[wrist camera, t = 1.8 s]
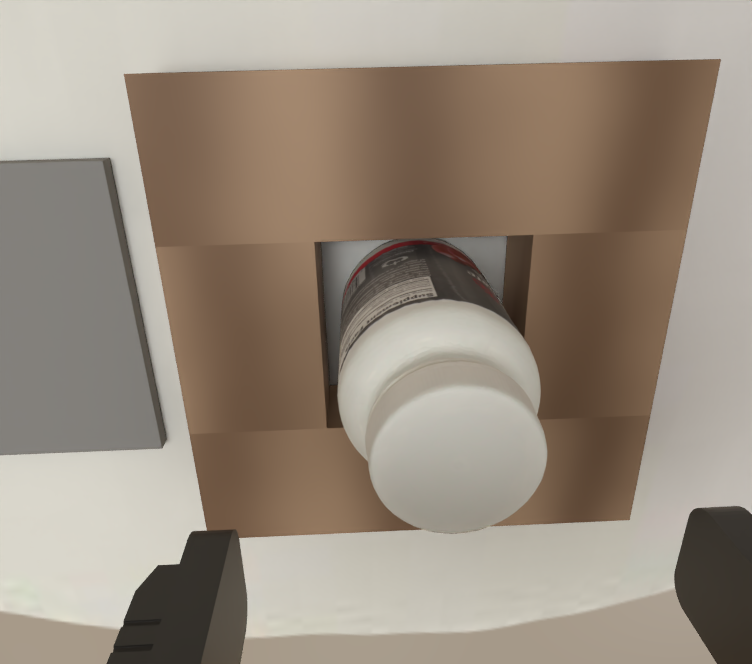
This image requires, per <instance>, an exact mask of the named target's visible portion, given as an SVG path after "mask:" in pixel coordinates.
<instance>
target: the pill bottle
mask: <svg viewBox="0 0 752 664" xmlns="http://www.w3.org/2000/svg"><path fill="white" fill-rule="evenodd" d="M337 393H338V394H337V397H338V405H339V412H340V417H341V421H342V424H343V427H344V429H345V431H346V433H347V435H348V437H349V439H350V441H351V442H352V444H353V445H354V447H355V448H356V450H357V451H358V452H359V453H360V454H361V455H362V456H363V457H364V458H365V459H366V460H367V461H368V467H369V473H370V477H371V481H372V484H373V487H374V489H375V491H376V493H377V495H378V497H379V498H380V500H381V501H382V503H383V504H384V505H385V506H386V507H387V508H388V509H389V510H390V511H391V512H392V513H393V514H394V515H395V516H397V517H398V518H400V519H401V520H403V521H405V522H406V523H408V524H411V525H413V526H415V527H417V528H420V529H424V530H428V531H432V532H438V533H450V534H454V533H465V532H471V531H477V530H480V529H483V528H486V527H489V526H492V525H494V524H497V523H499V522H501V521H503V520H504V519H506V518H508V517H509V516H511V515H512V514H514V513H515V512H516V511H517V510H519V509H520V508H521V507H522V506H523V505H524V504H525V503H526V502H527V501H528V500H529V499H530V497H531V496H532V495H533V494H534V492H535V491H536V489H537V487H538V486H539V484H540V482H541V480H542V478H543V475H544V471H545V468H546V463H547V444H546V439H545V434H544V431H543V428H542V426H541V423H540V421H539V419H538V417H537V413H538V409H539V404H540V396H541V387H540V377H539V372H538V368H537V364H536V362H535V359H534V357H533V354H532V352H531V350H530V347H529V345H528V344H527V342H526V340H525V339H524V337H523V336H522V335H521V333H520V332H519V331H518V329H517V327H516V326H515V324H514V323H513V322H512V320H511V319H510V317H509V315H508V314H507V312H506V310H505V309H504V307H503V306H502V304H501V303H500V301H499V300H498V298H497V296H496V295H495V294H494V292H493V290H492V289H491V287H490V285H489V284H488V282H487V281H486V279H485V278H484V276H483V275H482V273H481V272H480V271H479V269H478V268H477V266H476V265H475V264H474V263H473V261H472V260H471V259H470V258H469V257H468V256H467V255H466V254H464V253H463V252H462V251H460V250H459V249H458V248H456V247H454V246H452V245H451V244H449V243H446V242H444V241H440V240H437V239H433V238H420V239H399V240H395V241H391V242H388V243H386V244H384V245H382V246H380V247H378V248H376V249H375V250H374V251H372V252H371V253H370V254H369V255H367V256H366V257H365V258H364V259H363V260H362V261H361V262H360V263H359V264H358V265H357V267H356V268H355V269H354V271H353V272H352V274H351V276H350V278H349V280H348V282H347V284H346V287H345V290H344V295H343V302H342V312H341V326H340V352H339V372H338V389H337Z"/></svg>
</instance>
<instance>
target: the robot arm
mask: <svg viewBox="0 0 752 664" xmlns="http://www.w3.org/2000/svg"><path fill="white" fill-rule="evenodd" d="M674 580H675V589H676V593H677V597H678V599H679V602H680V605H681V607H682V609H683V610H684V612H685V614H686V615H687V617H688V618H689V620H690V621H691V623H692V625H693V626H694V628H695V629H696V631H697V633H698V634H699V636H700V637H701V639H702V641H703V642H704V644H705V645H706V647H707V648H708V650H709V652H710V653H711V655H712V656H713V658H714V659H715V661H716V663H717V664H752V514H751V513H750V512H749V511H747V510H746V509H745V508H742V507H739V506H731V507H711V508H696V509H694V510H693V511H692V512H691V513H690V515H689V518H688V522H687V526H686V530H685V534H684V538H683V542H682V545H681V549H680V553H679V557H678V561H677V565H676V569H675V576H674ZM246 624H247V592H246V585H245V578H244V571H243V564H242V557H241V549H240V542H239V536H238V532H237V530H236V529H231V530H210V531H193V532H191V534H190V535H189V538H188V540H187V543H186V546H185V549H184V552H183V555H182V559H181V562H180V564H176V565H158V566H157V567H156V568H155V569H154V571H153V572H152V573H151V574H150V575H149V576H148V577H147V579H146V580H145V581H144V582H143V583H142V584H141V585H140V587H139V588H138V589H137V590H136V591H135V594H134V596H133V599H132V601H131V604H130V606H129V609H128V611H127V614H126V616H125V619H124V625H123V627H121V629H120V631H119V634H118V636H117V639H116V642H115V644H114V650H113V653H111V654H110V657H109V659H108V662H107V664H240V662H241V656H242V650H243V644H244V639H245V632H246Z"/></svg>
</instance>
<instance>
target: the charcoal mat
mask: <svg viewBox="0 0 752 664" xmlns="http://www.w3.org/2000/svg"><path fill="white" fill-rule="evenodd" d="M165 442H166V435H165V430H164V425H163V420H162V415H161V410H160V405H159V401H158V396H157V391H156V386H155V381H154V376H153V371H152V366H151V361H150V356H149V351H148V346H147V341H146V336H145V331H144V326H143V321H142V317H141V312H140V307H139V302H138V297H137V292H136V287H135V282H134V277H133V272H132V267H131V262H130V257H129V252H128V247H127V242H126V237H125V232H124V228H123V223H122V218H121V213H120V208H119V203H118V198H117V193H116V188H115V183H114V178H113V173H112V168H111V163H110V158H96V159H61V160H26V161H0V455H17V454H41V453H65V452H89V451H113V450H137V449H161V448H163V446H164V444H165Z"/></svg>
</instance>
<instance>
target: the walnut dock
mask: <svg viewBox="0 0 752 664" xmlns="http://www.w3.org/2000/svg"><path fill="white" fill-rule="evenodd" d="M720 61H721V59H708V60H659V61H619V62H579V63H539V64H498V65H458V66H418V67H378V68H338V69H297V70H257V71H217V72H177V73H142V74H124V77H125V83H126V88H127V94H128V99H129V105H130V110H131V116H132V121H133V127H134V132H135V138H136V143H137V149H138V154H139V160H140V165H141V171H142V176H143V182H144V187H145V193H146V198H147V204H148V209H149V215H150V220H151V226H152V231H153V237H154V242H155V248H156V253H157V258H158V264H159V269H160V275H161V280H162V286H163V291H164V297H165V302H166V308H167V313H168V319H169V324H170V330H171V335H172V341H173V346H174V352H175V357H176V363H177V368H178V374H179V379H180V385H181V390H182V396H183V401H184V407H185V412H186V418H187V423H188V429H189V434H190V440H191V445H192V451H193V456H194V462H195V467H196V473H197V478H198V484H199V489H200V495H201V500H202V506H203V511H204V516H205V522H206V527H207V531H210V530H231V529H236V530H237V532H238V536H239V538H246V537H268V536H290V535H312V534H334V533H355V532H377V531H399V530H421V529H420V528H417V527H415V526H413V525H411V524H408V523H406V522H405V521H403V520H401V519H400V518H398V517H397V516H395V515H394V514H393V513H392V512H391V511H390V510H389V509H388V508H387V507H386V506H385V505H384V504H383V503H382V501H381V500H380V498H379V497H378V495H377V493H376V491H375V489H374V487H373V484H372V481H371V477H370V473H369V467H368V461H367V460H366V459H365V458H364V457H363V456H362V455H361V454H360V453H359V452H358V451H357V450H356V448H355V447H354V445H353V444H352V442H351V441H350V439H349V437H348V435H347V433H346V431H345V429H344V427H343V424H342V421H341V417H340V412H339V405H338V397H337V394H338V393H337V389H338V385H330V383H329V367H328V351H327V335H326V319H325V303H324V287H323V272H322V256H321V242H328V241H359V240H390V239H420V238H451V237H481V236H507V250H506V264H505V278H504V292H503V307H504V309H505V310H506V312H507V314H508V315H509V317H510V319H511V320H512V322H513V323H514V324H515V326H516V327H517V329H518V331H519V332H520V333H521V335H522V336H523V337H524V339H525V340H526V342H527V344H528V345H529V347H530V350H531V352H532V354H533V357H534V359H535V362H536V364H537V368H538V372H539V377H540V387H541V396H540V404H539V409H538V413H537V417H538V419H539V421H540V423H541V426H542V428H543V431H544V434H545V439H546V444H547V463H546V468H545V471H544V475H543V478H542V480H541V482H540V484H539V486H538V487H537V489H536V491H535V492H534V494H533V495H532V496H531V497H530V499H529V500H528V501H527V502H526V503H525V504H524V505H523V506H522V507H521V508H520V509H519V510H517V511H516V512H515V513H514V514H512V515H511V516H509V517H508V518H506V519H504V520H503V521H501V522H499V523H497V524H494V525H492V526H508V525H530V524H552V523H574V522H595V521H617V520H630V515H631V510H632V505H633V500H634V495H635V490H636V485H637V480H638V475H639V470H640V465H641V460H642V455H643V449H644V444H645V439H646V434H647V429H648V424H649V419H650V414H651V409H652V404H653V399H654V394H655V389H656V384H657V379H658V374H659V369H660V364H661V359H662V354H663V349H664V344H665V339H666V334H667V328H668V323H669V318H670V313H671V308H672V303H673V298H674V293H675V288H676V283H677V278H678V273H679V268H680V263H681V258H682V253H683V248H684V243H685V238H686V233H687V228H688V223H689V218H690V212H691V207H692V202H693V197H694V192H695V187H696V182H697V177H698V172H699V167H700V162H701V157H702V152H703V147H704V142H705V137H706V132H707V127H708V122H709V117H710V112H711V107H712V102H713V97H714V91H715V86H716V81H717V76H718V71H719V66H720Z"/></svg>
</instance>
